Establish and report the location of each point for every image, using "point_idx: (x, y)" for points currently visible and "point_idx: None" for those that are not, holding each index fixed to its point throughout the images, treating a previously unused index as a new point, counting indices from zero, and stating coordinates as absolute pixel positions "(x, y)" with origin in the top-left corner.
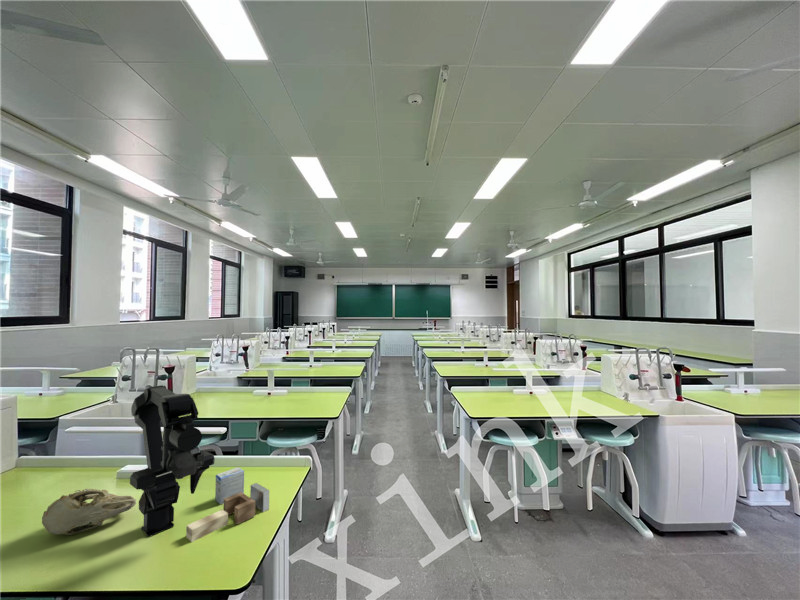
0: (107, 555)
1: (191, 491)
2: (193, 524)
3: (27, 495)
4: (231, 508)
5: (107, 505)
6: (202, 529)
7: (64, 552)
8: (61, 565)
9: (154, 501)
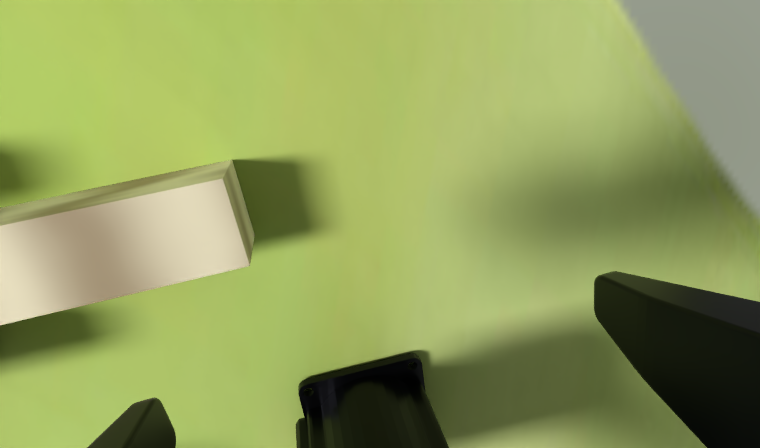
0: (568, 310)
1: (163, 442)
2: (204, 248)
3: None
4: None
5: None
6: (151, 185)
7: (657, 420)
8: None
9: (705, 302)
